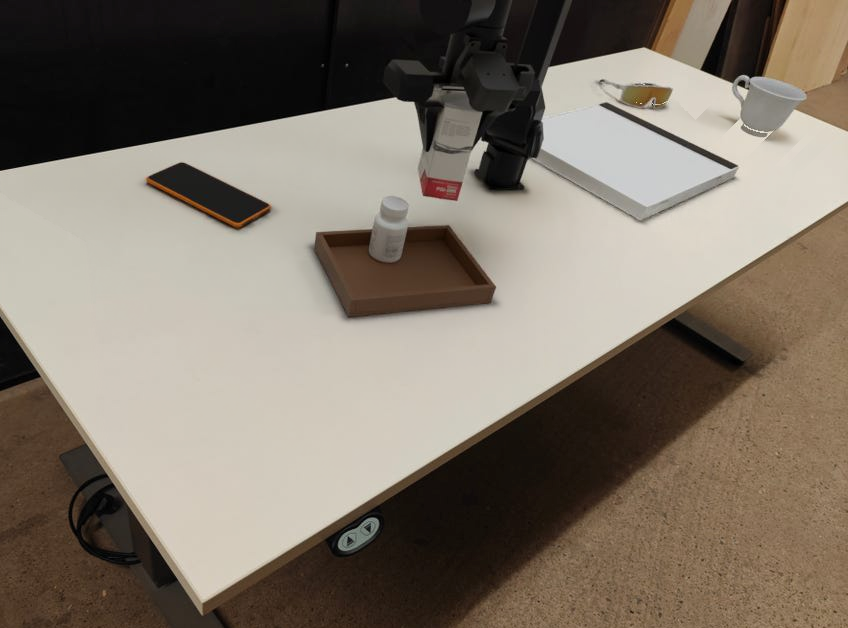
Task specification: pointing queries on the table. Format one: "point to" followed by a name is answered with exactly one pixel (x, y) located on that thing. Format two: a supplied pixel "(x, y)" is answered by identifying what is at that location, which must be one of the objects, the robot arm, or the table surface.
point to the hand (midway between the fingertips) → (446, 150)
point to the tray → (403, 272)
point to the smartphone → (209, 194)
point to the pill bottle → (389, 230)
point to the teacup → (766, 103)
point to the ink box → (449, 147)
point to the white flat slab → (628, 159)
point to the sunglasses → (642, 94)
